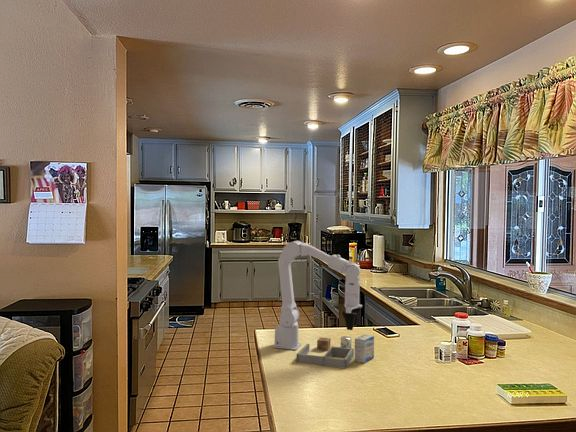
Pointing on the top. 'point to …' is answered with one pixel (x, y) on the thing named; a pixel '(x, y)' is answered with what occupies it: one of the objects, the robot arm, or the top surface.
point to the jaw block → (323, 344)
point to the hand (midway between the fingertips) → (351, 327)
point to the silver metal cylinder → (346, 342)
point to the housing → (327, 357)
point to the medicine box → (364, 348)
